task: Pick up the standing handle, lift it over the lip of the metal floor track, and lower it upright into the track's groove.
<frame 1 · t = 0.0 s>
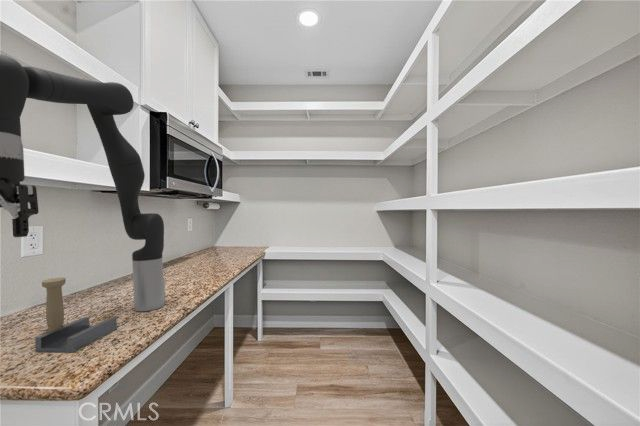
hand: (1, 237, 61), 29 cm above the worktop, tool pointing down, fingers open, 8 cm apart
handle: (56, 332, 86), on the worktop
floor track: (79, 339, 80), on the worktop
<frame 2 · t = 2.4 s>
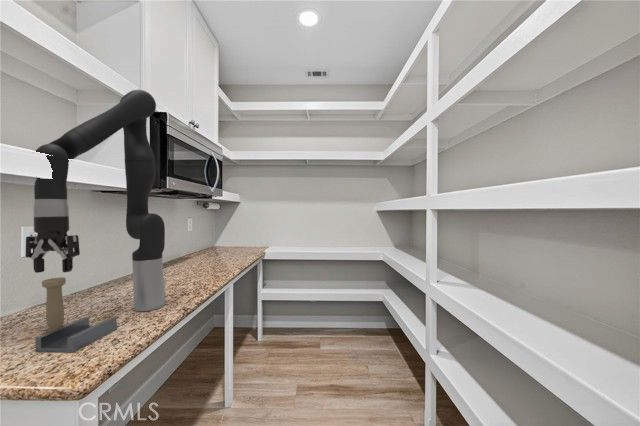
hand: (53, 272, 86), 17 cm above the worktop, tool pointing down, fingers open, 8 cm apart
nothing on the worktop moved.
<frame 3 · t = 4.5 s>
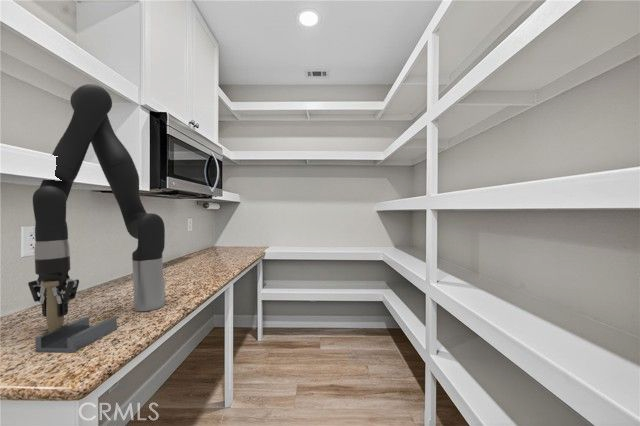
hand: (55, 315, 86), 5 cm above the worktop, tool pointing down, fingers closed on handle, 4 cm apart
handle: (56, 332, 86), on the worktop, touching gripper
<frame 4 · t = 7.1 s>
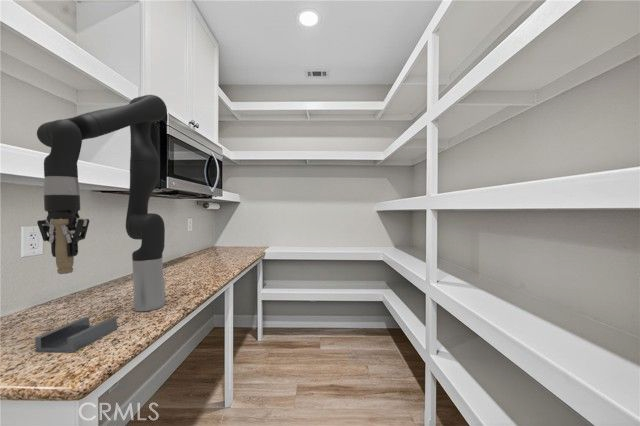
hand: (64, 255, 83), 22 cm above the worktop, tool pointing down, fingers closed on handle, 4 cm apart
handle: (65, 273, 83), point 17 cm above the worktop, touching gripper
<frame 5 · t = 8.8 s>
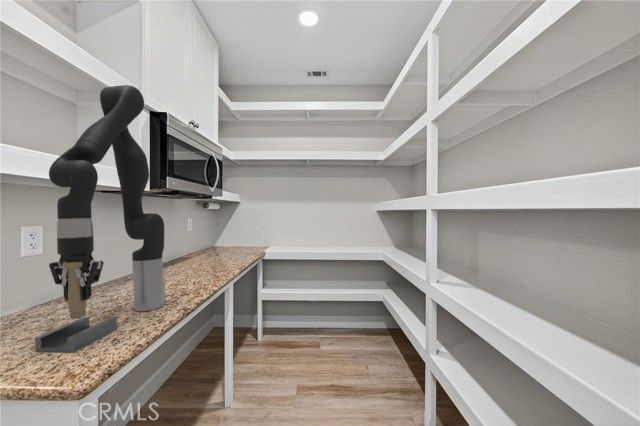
hand: (77, 299, 80), 11 cm above the worktop, tool pointing down, fingers closed on handle, 4 cm apart
handle: (78, 318, 80), point 6 cm above the worktop, touching gripper
when the fingers open (7 cm above the worktop, at t = 9.9 s): handle stays where it is, resting on floor track.
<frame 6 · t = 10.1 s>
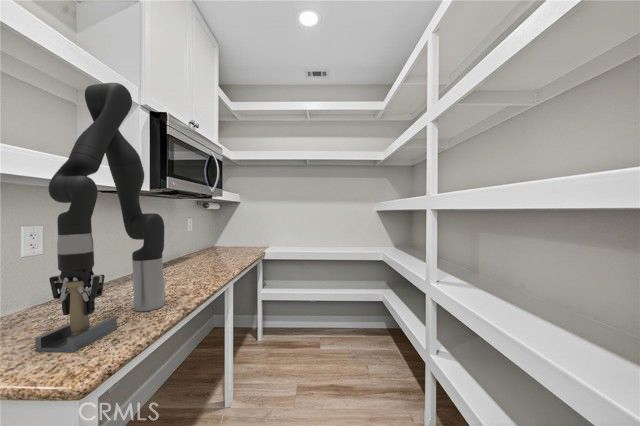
hand: (78, 313, 80), 7 cm above the worktop, tool pointing down, fingers open, 5 cm apart
handle: (79, 336, 80), point 1 cm above the worktop, touching floor track
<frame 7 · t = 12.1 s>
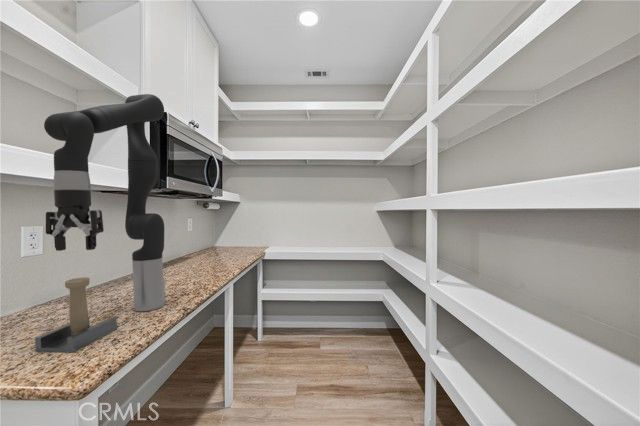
hand: (75, 250, 80), 24 cm above the worktop, tool pointing down, fingers open, 8 cm apart
nothing on the worktop moved.
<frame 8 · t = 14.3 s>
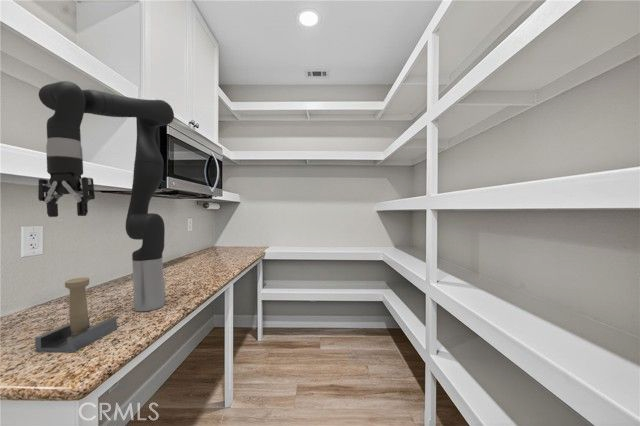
hand: (67, 216, 82), 33 cm above the worktop, tool pointing down, fingers open, 8 cm apart
nothing on the worktop moved.
at the end: handle inside the target area on the floor track (0.0 cm from its centre), point 0.8 cm above the floor track's base; handle tilted 0°; the gripper is holding nothing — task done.
